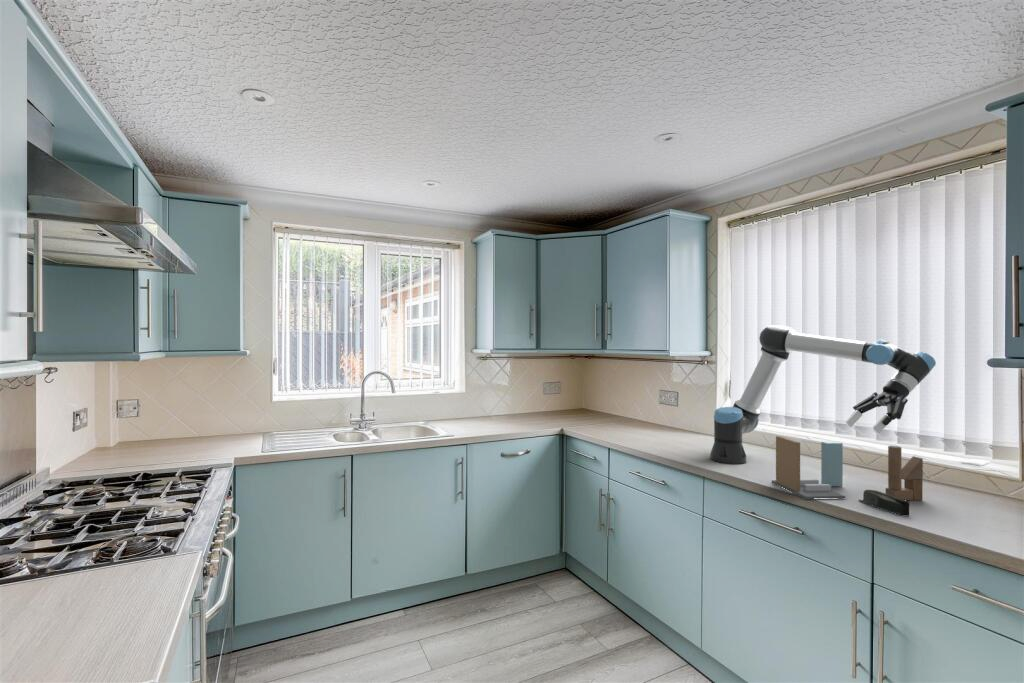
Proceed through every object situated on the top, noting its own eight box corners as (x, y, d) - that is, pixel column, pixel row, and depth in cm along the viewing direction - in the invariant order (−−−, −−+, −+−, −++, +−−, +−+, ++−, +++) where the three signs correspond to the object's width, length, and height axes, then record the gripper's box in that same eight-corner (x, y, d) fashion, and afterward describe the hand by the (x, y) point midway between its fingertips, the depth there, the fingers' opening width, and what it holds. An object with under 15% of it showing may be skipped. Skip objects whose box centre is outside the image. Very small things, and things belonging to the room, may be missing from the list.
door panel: (821, 484, 185) (821, 441, 185) (836, 484, 185) (836, 441, 186) (826, 486, 182) (826, 443, 182) (842, 486, 182) (842, 443, 183)
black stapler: (911, 500, 151) (863, 486, 166) (904, 501, 150) (857, 486, 165) (910, 517, 151) (863, 500, 166) (903, 517, 150) (856, 501, 165)
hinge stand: (771, 483, 187) (771, 435, 187) (807, 482, 187) (807, 435, 188) (805, 499, 167) (805, 446, 167) (845, 499, 167) (845, 445, 168)
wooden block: (923, 500, 166) (923, 447, 166) (894, 501, 165) (894, 447, 165) (912, 497, 170) (912, 444, 170) (884, 498, 169) (884, 445, 169)
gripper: (936, 396, 173) (896, 440, 172) (879, 391, 198) (844, 429, 197) (922, 381, 172) (881, 425, 171) (866, 377, 197) (831, 415, 196)
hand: (861, 427), depth 184 cm, fingers open, 13 cm apart
